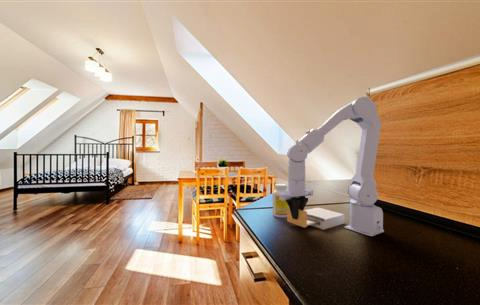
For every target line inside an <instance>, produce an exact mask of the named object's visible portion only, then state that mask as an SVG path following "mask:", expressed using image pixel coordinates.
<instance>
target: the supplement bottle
mask: <svg viewBox="0 0 480 305" xmlns="http://www.w3.org/2000/svg"><path fill="white" fill-rule="evenodd" d="M287 185H288V184H285V183H275V184H274V188H275V189H274V190H273V192H272V216H274V217H276V218H280V219H281V218H283V219H285V218H287V207H289V206H288V204H287V202H286V200H284V201H283V200H279V194H281V193H285V192H287V190H288V188H287V187H288V186H287Z"/></svg>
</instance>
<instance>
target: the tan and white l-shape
mask: <svg viewBox="0 0 480 305" xmlns="http://www.w3.org/2000/svg"><path fill="white" fill-rule="evenodd" d="M286 218H287V219H286V220H287V221H286V222H289V223H290V224H293V225H296V226H299V227H302V228H308V226H312V224H316V223H320V222H319V221H316V220H313V219H310V218H307V212H306V211H303V210H300V209H299V213H298V219H297V220H296V219H293V218H292V215H291V211H290V208H289V207H287V217H286Z"/></svg>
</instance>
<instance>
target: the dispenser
mask: <svg viewBox="0 0 480 305" xmlns="http://www.w3.org/2000/svg"><path fill="white" fill-rule="evenodd" d="M303 211H306V212H307V218H310V219H313V220H316V221H319V222H320V223H316V224H312V225H311V227H315V228H317V229H320V230H327V229H330V228H333V227H337V226H340V225H343V224H345V221H346V220H345V218H346V217H345V216H346V214H345V213H341V212H337V211H334V210H333V211H332V210H330V209H326V208H323V207H313V208H308V209H304V210H303Z"/></svg>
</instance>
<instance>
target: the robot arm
mask: <svg viewBox="0 0 480 305" xmlns="http://www.w3.org/2000/svg"><path fill="white" fill-rule="evenodd" d="M377 107H378V105H377V103H376V102H375V101H373V100H372V99H371V97H367V96H361V97H358V98H357V99H355V100H353V101H351V102H348V103H347V104H345V105H344V106H342V107H341V108H339V109H338V110H337V111H335V112H334V113H333V114H331V116H330V117H329V118H328V119H327V120H326V121H324V123H322V124H321V125H320V127H318V128H311V129H308V130H306V131H305V135H303V136H302V137H301V138H300V139H299V140H298V139H296V140H295V141H294V143H295V144H294V145H291V146H290V147H289V148H288V150H287V152H286V156H287V157H288V166H287V167H288V173H287V174H288V175H287V176H288V177H287V179H288V184H287V185H288V186H287V187H288V188H287V189H286V190H287V192H285V193H281V194H279V200H283V201H284V200H286V202H287V204H288V206H289V208H290V211H291V215H292V218H293V219H296V220H297V219H298V213H299V209H300V210H305V207H306V205H307V203H308V202H309V196H311V197H312V196H314V190H313V189H306V160H307V157H308V154H310V153H311V152H313V151H314V150H315V149H316V148H317V147H319V146H320V145H321V144H322V143H324V142H325V136H326V135H327V134H328V133H329V132H331V131H332V130H333V129H334V128H336V127H337V126H338V125H339V124H341V123H342V122H344V121H347V120H350V121H352V122H354V123H356V124H357V125H358V126H359V127H360V128H361V129H362V130H361V136H360V141H359V143H360V144H359V149H358V156H357V161H356V162H357V164H356V168H355V174H354V175H353V176H352V178H351V182H350V184H349V185H348V187H347V194H348V196H349V198H350V200H349V224H348V225H345V226H344V227H343V228H344V229H346V230H350V231H353V232H356V233H359V234H362V235H366V236H368V237H369V236H370V237H374V236H377V235H379V234H382V233H385V230H384V212H383V209H382V208H381V207H379V206H377V205H375V203H376V202H377V200H378V198H379V197H378V196H379V194H378V190H377V181H376V180H375V178H374V174H375V166H376V160H377V159H376V158H377V155H378V148H379V140H380V135H381V129H382V122H381V119H380V116H379V114H378V111H377Z"/></svg>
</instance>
